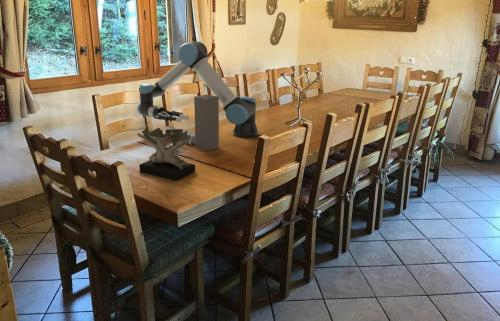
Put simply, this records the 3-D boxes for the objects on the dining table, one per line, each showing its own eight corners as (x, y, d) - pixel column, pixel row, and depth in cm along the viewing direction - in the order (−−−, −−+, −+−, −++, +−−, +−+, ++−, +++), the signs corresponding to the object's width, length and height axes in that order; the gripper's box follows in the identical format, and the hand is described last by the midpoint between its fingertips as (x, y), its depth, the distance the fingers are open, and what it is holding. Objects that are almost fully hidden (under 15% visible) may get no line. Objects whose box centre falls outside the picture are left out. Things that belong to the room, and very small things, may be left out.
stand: (195, 147, 224) (194, 96, 214) (207, 144, 230) (206, 94, 221) (207, 151, 218) (206, 99, 209) (218, 147, 225) (218, 96, 216)
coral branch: (173, 166, 206) (165, 155, 198) (165, 156, 211) (157, 145, 202) (187, 156, 208) (181, 144, 200) (179, 146, 212) (172, 134, 204)
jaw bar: (164, 131, 239) (164, 123, 237) (170, 129, 243) (171, 121, 241) (190, 144, 228) (191, 136, 226) (197, 142, 232) (198, 134, 230)
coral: (201, 173, 187) (200, 128, 180) (171, 188, 171) (169, 138, 164) (160, 163, 200) (158, 120, 193) (128, 175, 183) (125, 129, 176)
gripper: (169, 116, 252) (196, 122, 238) (145, 121, 239) (172, 128, 225) (169, 104, 250) (195, 110, 236) (144, 108, 236) (171, 115, 222)
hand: (184, 119), depth 230 cm, fingers open, 5 cm apart
